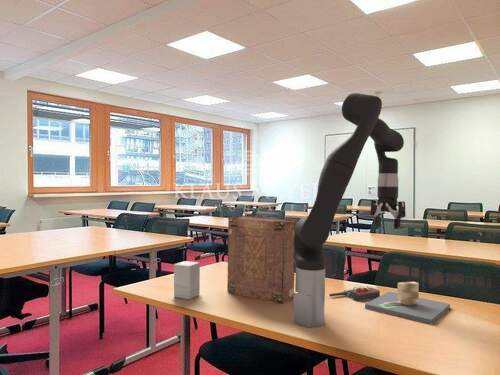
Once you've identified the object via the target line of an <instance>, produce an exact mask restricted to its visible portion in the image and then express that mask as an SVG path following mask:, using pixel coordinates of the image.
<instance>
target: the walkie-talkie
mask: <svg viewBox="0 0 500 375" xmlns="http://www.w3.org/2000/svg"><path fill="white" fill-rule="evenodd" d="M380 292H381V291H380V289H377V288H374V287H370V286H366V287H365V286H360V285H359V286H354V287H352V289H344V291H342V292H333V293H329V297H337V296H346V297H347V298H350V299H352V300H355V301H356V302H362V301H369V300H374V299H376V298H378V297H379V296H381V294H380Z"/></svg>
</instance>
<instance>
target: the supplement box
mask: <svg viewBox="0 0 500 375" xmlns="http://www.w3.org/2000/svg"><path fill="white" fill-rule="evenodd" d="M200 266H201V265H200V262H196V261H189V260H188V261H186V260H183V261H181V262H177V263H174V264H173V272H174V273H173V297H174V298H178V299H185V300H191V299H193V298H195V297H198V296H200V294H201V293H200V289H201V288H200V287H201V286H200V284H201V282H200V276H201V275H200V273H201V272H200V271H201V270H200V269H201V267H200Z"/></svg>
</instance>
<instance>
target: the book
mask: <svg viewBox="0 0 500 375" xmlns="http://www.w3.org/2000/svg"><path fill="white" fill-rule="evenodd" d="M227 223H228V224H227V225H228V229H227V286H226V288H227V290H226V291H227V293H231V294H235V295H239V296H244V297H250V298H255V299H259V300H263V301H269V302H273V303H278V304H284V303H285V302H288V301H290V300H292V299H294V293H295V265H296V260H295V252H294V232H295V226H296V220H295V219H290V218H289V219H288V218H287V219H285V218H274V217H264V216H263V217H262V216H261V217H260V216H249V215H247V216H245V215H242V216H240V217H228V221H227Z"/></svg>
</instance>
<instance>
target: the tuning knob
mask: <svg viewBox="0 0 500 375" xmlns="http://www.w3.org/2000/svg"><path fill="white" fill-rule="evenodd" d="M419 285H420V284H419V282H416V281H402V282H397V292H396V293H397V298H398V299H399V302H387V303H383V305H393V304H404V305H410V306H413V305H417V299H418V298H420V297H419V294H420V293H419V291H420V290H419V288H420V286H419Z"/></svg>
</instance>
